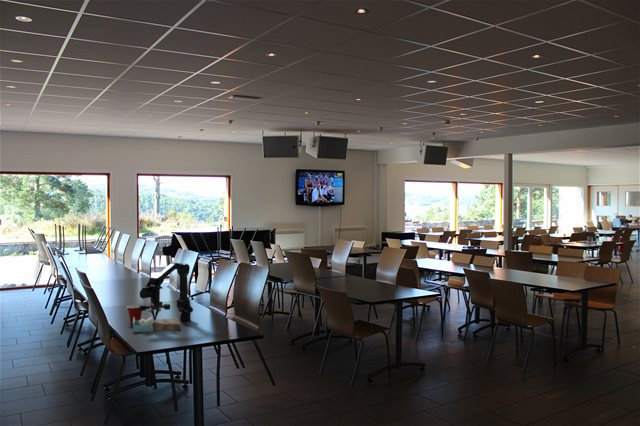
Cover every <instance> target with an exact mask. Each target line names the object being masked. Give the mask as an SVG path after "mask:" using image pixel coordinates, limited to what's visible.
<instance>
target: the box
mask: <svg viewBox="0 0 640 426" xmlns="http://www.w3.org/2000/svg"><path fill="white" fill-rule="evenodd" d="M147 319H148V318H147ZM147 319H145V320H147ZM140 320H141V319H140ZM140 320H135V317H133V324H132V333H133V334H134V333H152V332H154V331H153V323H152V324H151V325H142V326H141V325H140V323H139V321H140Z"/></svg>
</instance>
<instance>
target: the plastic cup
mask: <svg viewBox="0 0 640 426" xmlns="http://www.w3.org/2000/svg"><path fill="white" fill-rule="evenodd" d="M140 305H144V304H141V303H136V304H135V303H134V304H129V305H127V306H126V308H127V310H128V311H127V312H128V317H129V322H130V324H132V325H133V317H135V320H141V319H142V313H143V311H140Z"/></svg>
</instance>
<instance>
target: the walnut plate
mask: <svg viewBox="0 0 640 426" xmlns="http://www.w3.org/2000/svg"><path fill="white" fill-rule="evenodd" d="M163 331H164V332H167V331H180V320H179V319H178V318H176V317H175V318H159V319H158V318H156V320H155V322H154V323H153V332H163Z"/></svg>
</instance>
